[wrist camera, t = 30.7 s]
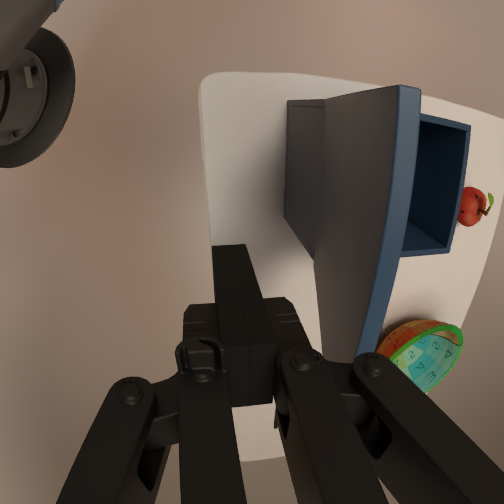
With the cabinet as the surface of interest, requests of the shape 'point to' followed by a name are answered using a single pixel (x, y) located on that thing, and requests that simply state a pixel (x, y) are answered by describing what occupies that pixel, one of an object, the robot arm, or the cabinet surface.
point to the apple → (473, 206)
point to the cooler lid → (363, 213)
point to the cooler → (424, 186)
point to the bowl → (423, 350)
